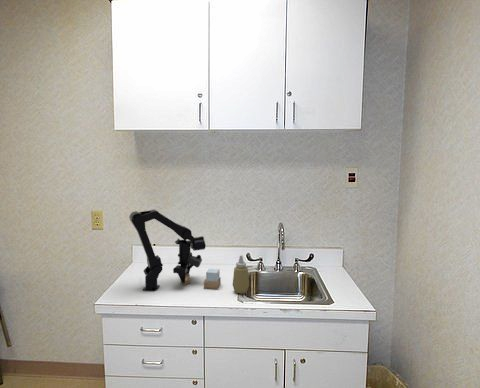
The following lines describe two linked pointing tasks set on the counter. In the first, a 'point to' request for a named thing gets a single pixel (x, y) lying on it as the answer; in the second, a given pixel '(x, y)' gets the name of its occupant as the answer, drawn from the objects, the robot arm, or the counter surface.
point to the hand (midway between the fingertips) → (185, 281)
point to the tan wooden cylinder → (186, 279)
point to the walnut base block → (212, 284)
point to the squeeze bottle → (240, 277)
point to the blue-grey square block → (213, 275)
